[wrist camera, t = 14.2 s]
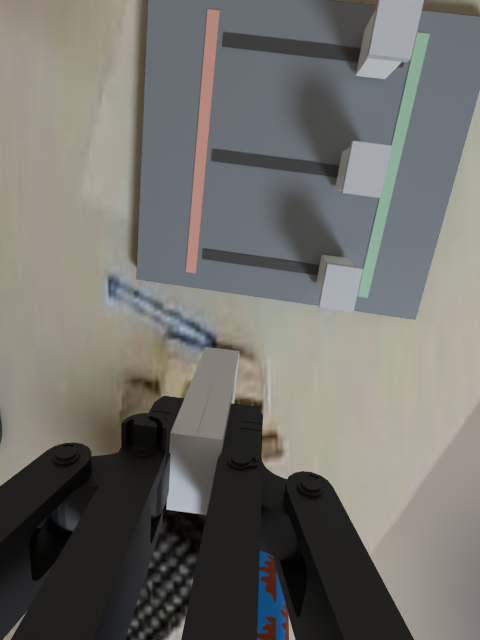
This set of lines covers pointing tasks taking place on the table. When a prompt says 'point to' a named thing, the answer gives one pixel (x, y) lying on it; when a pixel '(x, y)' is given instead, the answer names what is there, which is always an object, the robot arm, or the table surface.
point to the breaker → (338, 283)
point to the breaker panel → (296, 148)
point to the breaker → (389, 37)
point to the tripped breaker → (363, 169)
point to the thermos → (271, 602)
